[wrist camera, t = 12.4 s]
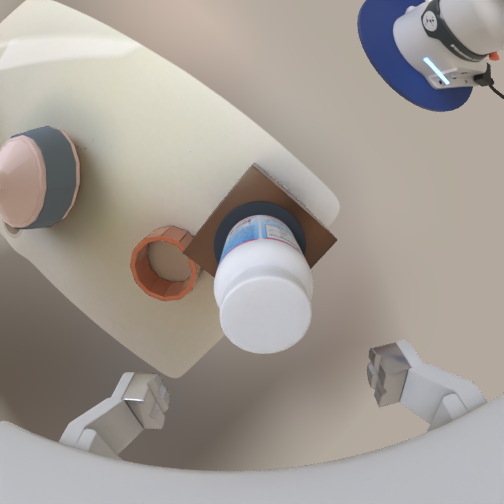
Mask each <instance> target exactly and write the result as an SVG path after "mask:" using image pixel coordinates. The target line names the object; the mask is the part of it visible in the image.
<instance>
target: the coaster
mask: <svg viewBox="0 0 504 504" xmlns="http://www.w3.org/2000/svg"><path fill="white" fill-rule="evenodd" d="M255 215H267V216H271V217H274V218H276V219H278V220H280V221H282V222H283V223H284V224H285V225H286V226H287V227H288V228H289V229H290V231H291V232H292V234H293V236H294V238H295V240H296V242H297V243H298V245H299V247H300V249H301V251H302V253H303V255H304V256H305V251H306V242H305V236H304V232H303V230H302V227H301V226H300V224H299V222H298V221H297V219H296V218H295V217H294V216H293V215H292V214H291V213H290V212H289V211H288V210H286V209H285V208H283V207H281V206H279V205H277V204H274V203H270V202H264V201H255V202H249V203H246V204H243V205H241V206H238V207H237V208H235V209H233V210H232V211H231V212H229V213H228V214H227V215H226V216H225V217H224V219H223V220H222V221H221V223H220V225H219V227H218V229H217V231H216V234H215V238H214V254H215V258H216V261H217V264H218V265H219V262H220V259H221V255H222V252H223V249H224V246H225V243H226V239H227V237H228V235H229V233H230V231H231V230H232V229H233V227H234V226H235V225H236V224H237V223H239V222H240V221H242V220H243V219H245V218H248V217H251V216H255Z"/></svg>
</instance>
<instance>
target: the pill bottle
mask: <svg viewBox="0 0 504 504" xmlns="http://www.w3.org/2000/svg"><path fill="white" fill-rule="evenodd" d="M313 283H314V282H313V277H312V273H311V270H310V267H309V265H308V263H307V261H306V259H305V257H304V255H303V253H302V251H301V249H300V247H299V245H298V243H297V242H296V240H295V238H294V236H293V234H292V232H291V231H290V229H289V228H288V227H287V226H286V225H285V224H284V223H283V222H282V221H280V220H278V219H276V218H274V217H271V216H267V215H255V216H251V217H248V218H245V219H243V220H242V221H240V222H239V223H237V224H236V225H235V226H234V227H233V229H232V230H231V231H230V233H229V235H228V237H227V239H226V243H225V246H224V249H223V252H222V255H221V259H220V262H219V265H218V268H217V272H216V275H215V280H214V296H215V300H216V303H217V305H218V307H219V309H220V323H221V327H222V329H223V332H224V333H225V335H226V336H227V337H228V339H229V340H230V341H231V342H232V343H234V344H235V345H236V346H238V347H240V348H241V349H243V350H246V351H249V352H253V353H260V354H268V353H275V352H279V351H282V350H285V349H287V348H289V347H291V346H293V345H294V344H295V343H297V342H298V341H299V340H300V339H301V338H302V337H303V336H304V334H305V333H306V331H307V330H308V328H309V325H310V322H311V317H312V309H311V304H310V303H311V299H312V296H313V290H314V284H313Z"/></svg>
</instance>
